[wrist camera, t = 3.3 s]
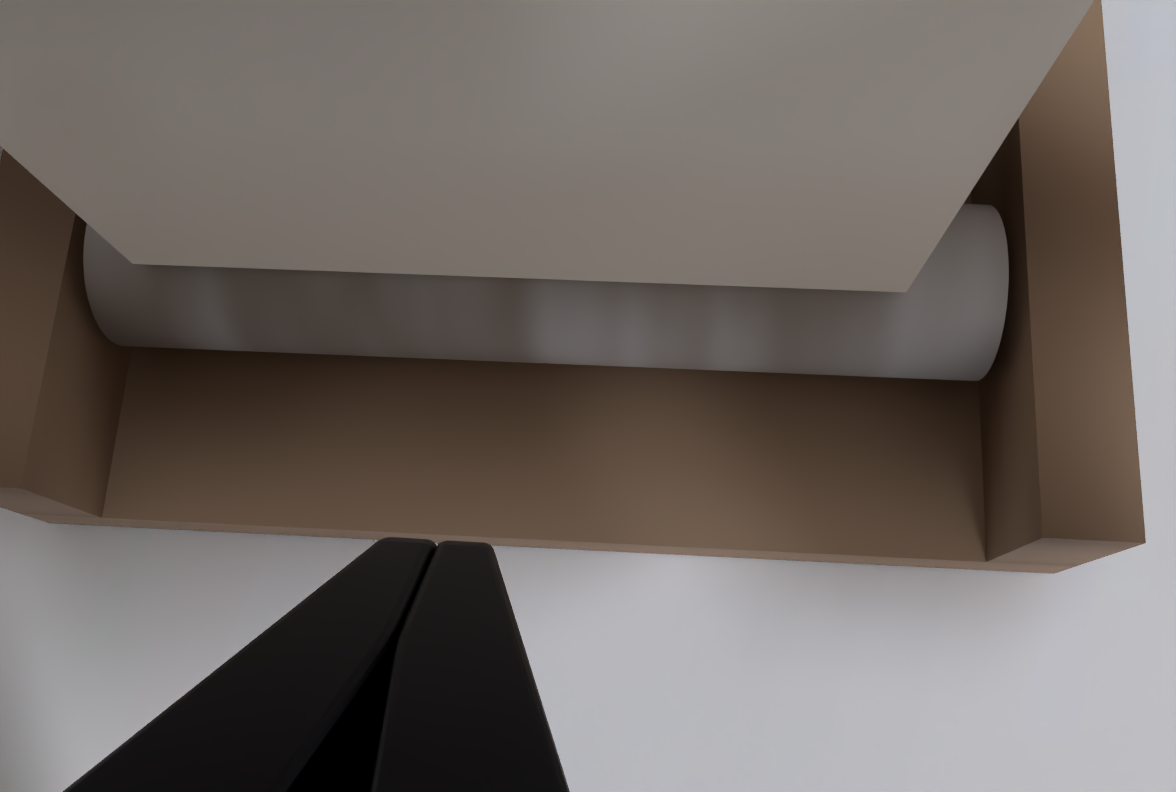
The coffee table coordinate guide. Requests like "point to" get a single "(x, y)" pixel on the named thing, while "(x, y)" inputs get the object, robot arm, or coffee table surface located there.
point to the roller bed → (606, 388)
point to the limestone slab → (525, 131)
